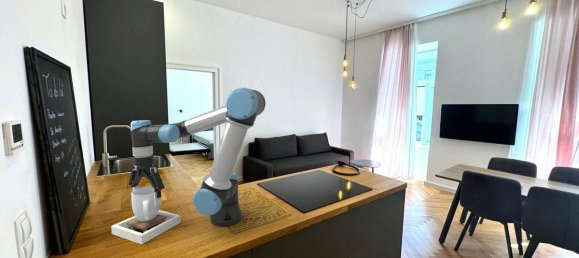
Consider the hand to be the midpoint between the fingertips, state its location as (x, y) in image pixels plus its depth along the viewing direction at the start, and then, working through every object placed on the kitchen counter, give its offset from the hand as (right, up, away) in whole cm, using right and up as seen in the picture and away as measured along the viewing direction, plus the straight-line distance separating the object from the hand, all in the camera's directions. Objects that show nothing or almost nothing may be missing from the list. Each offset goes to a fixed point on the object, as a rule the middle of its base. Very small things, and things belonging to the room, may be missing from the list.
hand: (147, 202), depth 104 cm
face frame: (-1, -12, +1) cm, 12 cm away
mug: (0, -8, +1) cm, 8 cm away
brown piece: (-1, -12, +1) cm, 12 cm away
